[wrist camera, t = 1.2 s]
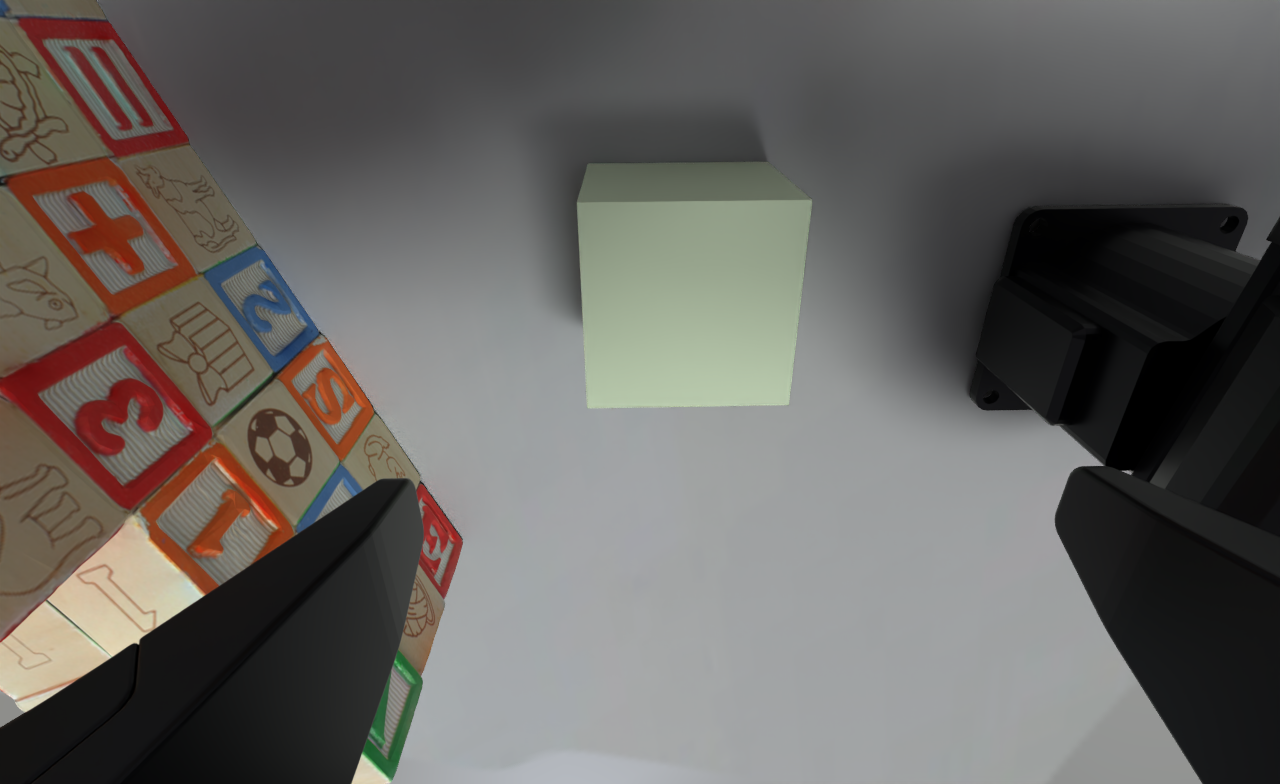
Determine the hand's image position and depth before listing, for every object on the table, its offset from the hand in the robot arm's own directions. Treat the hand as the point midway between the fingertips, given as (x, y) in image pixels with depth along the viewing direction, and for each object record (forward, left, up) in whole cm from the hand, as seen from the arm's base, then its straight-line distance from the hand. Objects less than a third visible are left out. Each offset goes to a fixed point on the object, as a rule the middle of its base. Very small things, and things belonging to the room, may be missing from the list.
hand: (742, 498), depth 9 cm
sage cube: (0, 0, -12) cm, 12 cm away
